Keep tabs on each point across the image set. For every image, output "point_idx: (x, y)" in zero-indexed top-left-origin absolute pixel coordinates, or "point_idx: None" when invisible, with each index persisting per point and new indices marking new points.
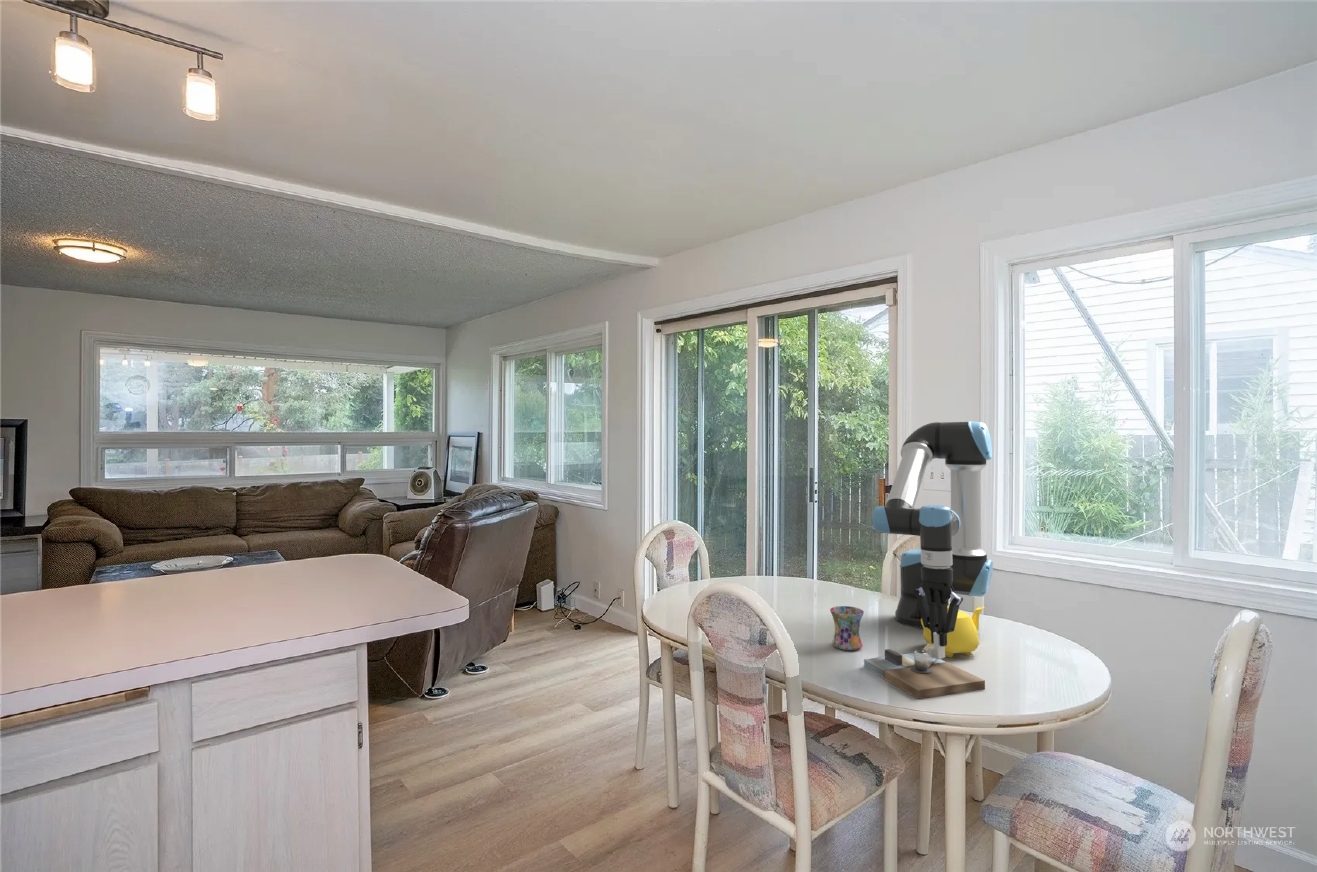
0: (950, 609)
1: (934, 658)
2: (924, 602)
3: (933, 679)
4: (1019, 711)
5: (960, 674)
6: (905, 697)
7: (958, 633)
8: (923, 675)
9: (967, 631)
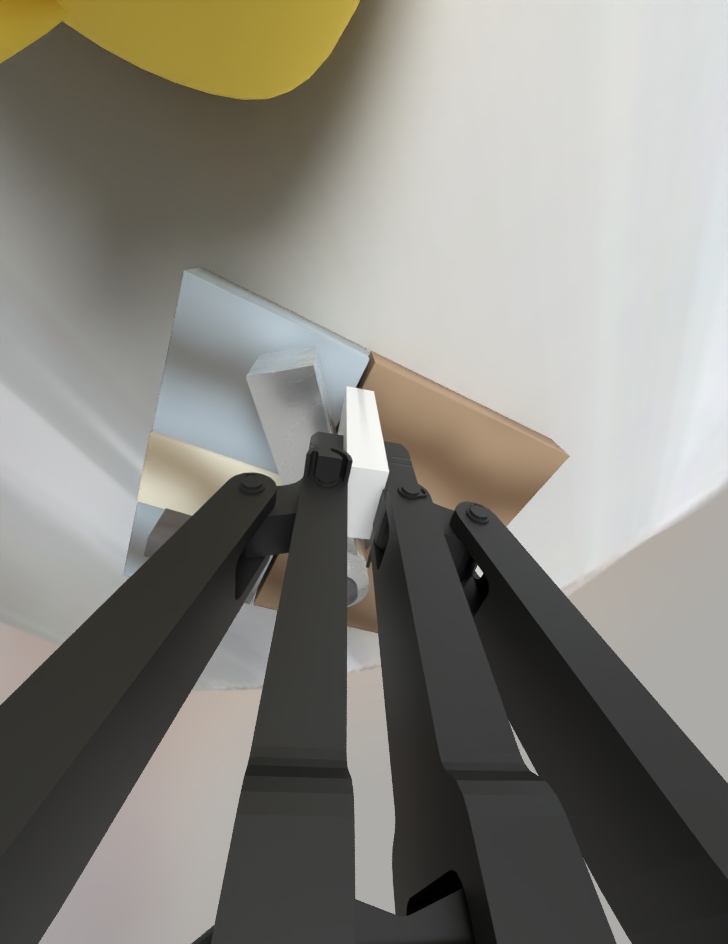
0: (596, 831)
1: (334, 431)
2: (92, 815)
3: None
4: (649, 522)
5: (472, 463)
6: None
7: None
8: (367, 558)
9: None
